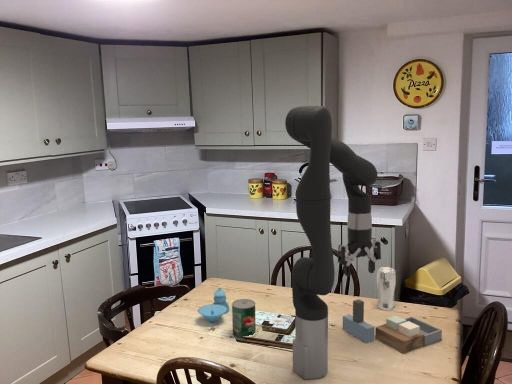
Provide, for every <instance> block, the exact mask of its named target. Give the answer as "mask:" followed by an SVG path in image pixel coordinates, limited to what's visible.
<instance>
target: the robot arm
mask: <svg viewBox="0 0 512 384" xmlns="http://www.w3.org/2000/svg"><path fill="white" fill-rule="evenodd" d="M332 123H333V122H332V116H331V112H330V110H329V109H328V108H327V107H326V106H324V105H309V106H308V105H305V106H303V105H302V106H301V105H300V106H296V107H293V108H291V109H289V111H288V112H287V114H286V117H285V121H284V124H285V125H284V126H285V129H286V133H287V134H288V136H289V137H290V138H291V139H293V140H294V141H296V142H297V143H300V144H301V145H303V146H305V147H306V148H308V149H310V152H309V154H310V155H309V162H308V165H307V167H306V169H305V170H304V173H303V175H302V176H301V178H300V180H299V182H298V184H297V187H296V191H295V204H296V206H295V211H296V216H297V220H298V222H299V224H300V226H301V228H302V229H303V232H304V234H305V235H306V236H305V237H306V238H307V239H308V242H309V244H310V247H311V252H312V258H311V257H305V256H303V257H299V258H298V259H297V260H296V262H294V264H293V267H292V270H291V291H292V293H291V295H292V305H293V308H294V310H295V312H294V313H295V321H294V322H295V326H294V327H295V331H294V332H295V338H293V339H292V371H294V373H295V374H297V375H299V376H300V377H301V378H302V379H304V380H309V379H312V380H314V379H315V380H316V379H320V378H323V377H325V376H326V375H327V374H328V371H329V369H328V365H329V364H328V362H329V360H328V357H329V356H328V355H329V353H328V351H329V350H328V348H329V343H328V342H329V335H328V334H329V307H328V304H327V303H326V302H325V301H324V300H323V299H322V298H321V297H320V296H326V295H329V294H330V292H331V291H332V289H333V288H334V284H335V277H336V276H335V273H336V271H335V262H334V261H335V260H334V254H333V247H332V245H333V244H332V232H331V230H332V228H331V211H332V210H331V209H332V208H331V206H332V205H331V185H330V167H331V165H332V166H333V167H334V168H335V169H336V170H337V171H339V173H342V181H343V185H344V188H345V192H346V197H347V200H348V202H347V203H348V207H347V209H348V211H347V212H348V213H347V223H346V226H347V244H346V245H342V244H339V245H338V248H337V249H338V251H337V263H339V264H340V265H342V266H343V274H344V276H346V277H347V278H349V277H351V263H352V262H354V261H355V259H356V258H364V257H367V258H368V265H367V266H368V267H367V269H368V271H367V272H368V273H370V274H374V273H375V270H376V262H377V261H379V260H381V259H382V254H381V252H382V249H381V242H380V241H379V240H376V239H373V241H372V238H373V237H372V236H373V233H372V230H373V222H372V221H373V219H372V196H371V195H370V194H369V193H367V192H364V191H363V190H361V188H360V187H370V186H373V185H374V184H375V183H376V182H377V180H378V179H377V178H378V170H377V168H376V166H375V165H374V164H373V163H372V162H370V161H369V160H368V159H365V158H364V157H362V156H360V155H358V154H357V153H355V151H354V150H352V149H351V148H350V146H349V145H347V144H346V143H344V142H343V141H341V140H339V139H337V138H335V137H332V136H333V135H332V132H333V124H332ZM330 164H331V165H330ZM372 248H373V249H372ZM371 249H372V250H373V251H370V250H371ZM347 250H348V251H347ZM346 252H347V253H346ZM372 252H373V253H372Z"/></svg>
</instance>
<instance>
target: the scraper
mask: <svg viewBox="0 0 512 384" xmlns="http://www.w3.org/2000/svg"><path fill="white" fill-rule="evenodd" d="M364 308H365V301H363V300H361V299H355V300H353V301H352V314H345V315H342V330H343V331H345V332H346V333H348V334H350V335H352V336H354V337H356V338H357V339H359V340H361V341H362V342H364V343H366V344H370V343H372V342H374V341H375V326H374V325H372V324H369V322H366V321H364V319H365V318H364V317H365V315H364V312H365V309H364Z"/></svg>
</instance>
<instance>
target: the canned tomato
mask: <svg viewBox="0 0 512 384" xmlns="http://www.w3.org/2000/svg"><path fill="white" fill-rule="evenodd" d="M231 309H232V311H231V312H232V314H231V315H232V317H231V319H232V336H233V338H235V339H239V340H245V339H244V338H242V337H243V336H249V335H253V334H254V333H255V332H256V333H257V331H256V322H257V321H256V302H255V301H254V300H252V299H248V298H238V299H236V300H234V301H233V302H232V303H231Z"/></svg>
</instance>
